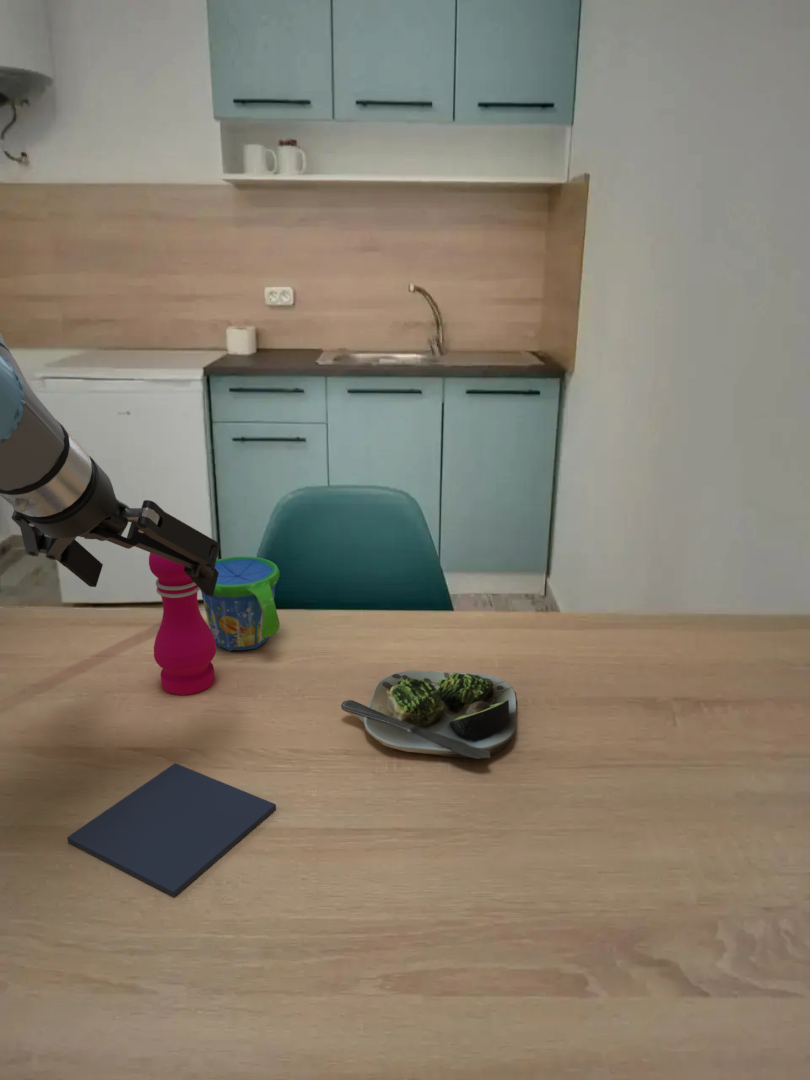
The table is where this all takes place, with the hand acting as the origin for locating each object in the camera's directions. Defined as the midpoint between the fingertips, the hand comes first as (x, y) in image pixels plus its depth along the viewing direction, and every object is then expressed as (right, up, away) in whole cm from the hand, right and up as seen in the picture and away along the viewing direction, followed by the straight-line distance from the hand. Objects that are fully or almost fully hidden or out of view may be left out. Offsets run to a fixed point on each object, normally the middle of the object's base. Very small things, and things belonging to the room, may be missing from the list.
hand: (153, 579), depth 90 cm
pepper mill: (+1, -13, +10) cm, 17 cm away
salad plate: (+32, -16, +2) cm, 36 cm away
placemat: (+6, -22, -14) cm, 27 cm away
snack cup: (+5, -9, +21) cm, 24 cm away
